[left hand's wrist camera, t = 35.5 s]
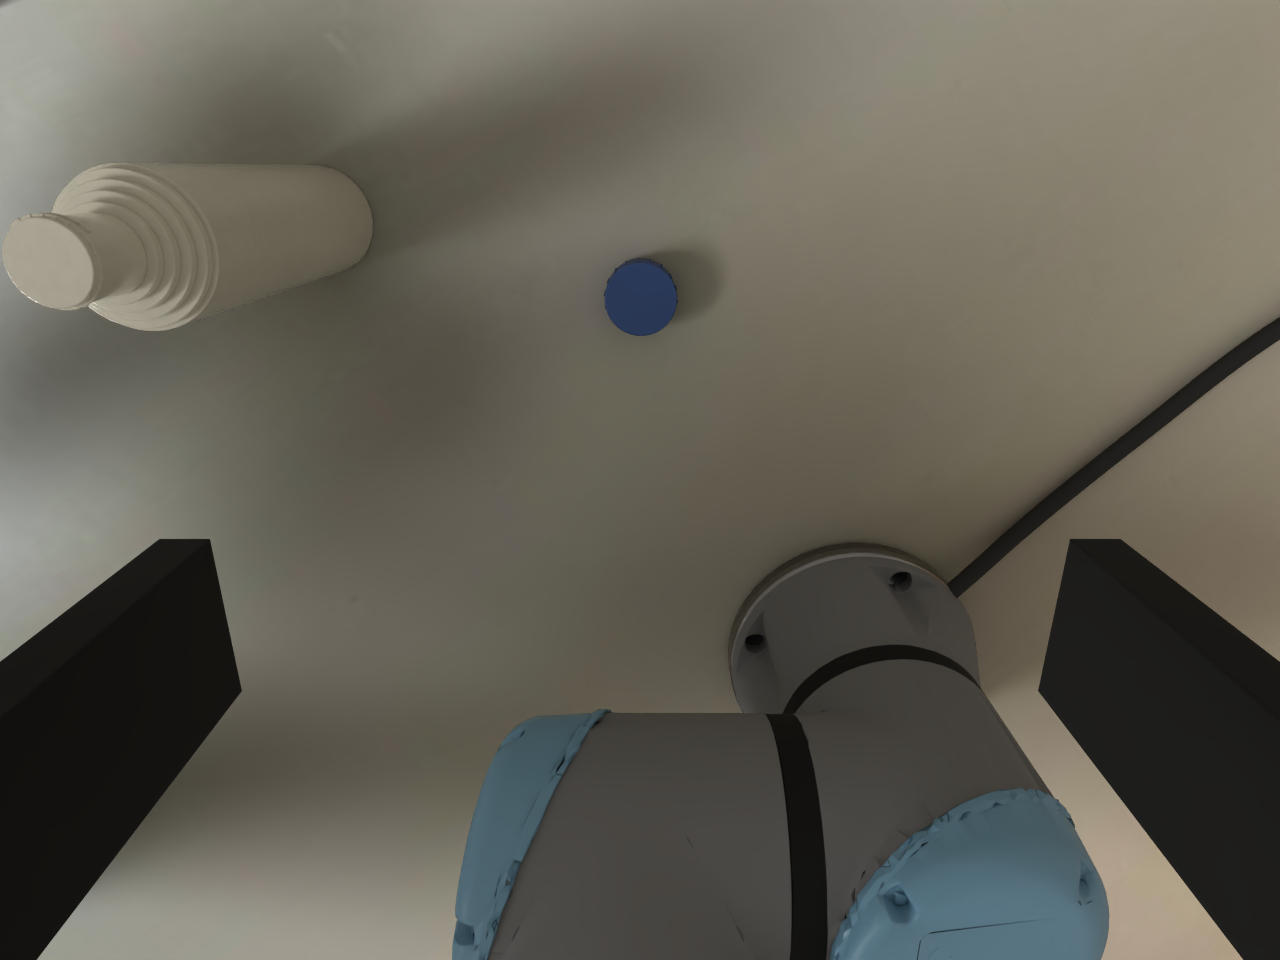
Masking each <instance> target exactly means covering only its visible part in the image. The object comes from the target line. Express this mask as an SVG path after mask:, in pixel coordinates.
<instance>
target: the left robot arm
mask: <svg viewBox="0 0 1280 960" xmlns="http://www.w3.org/2000/svg"><path fill="white" fill-rule="evenodd" d="M1278 340H1280V318H1278V319H1276V320H1275V321H1273V322H1272V323H1270V324H1269V325H1267V326H1266V327H1264V328H1263V329H1261V330H1260V331H1258V332H1257V333H1256V334H1254V335H1253V336H1251V337H1250V338H1248V339H1247V340H1245V341H1244V342H1243V343H1241V344H1240V345H1238V346H1237V347H1236V348H1234V349H1233V350H1232V351H1230V352H1229V353H1227V354H1226V355H1225V356H1223V357H1222V358H1221V359H1219V360H1218V361H1217V362H1215V363H1214V364H1213V365H1212V366H1210V367H1209V368H1208V369H1206V370H1205V371H1204V372H1203V373H1201V374H1200V375H1199V376H1197V377H1196V378H1195V379H1194V380H1192V381H1191V382H1190V383H1189V384H1187V385H1186V386H1185V387H1184V388H1182V389H1181V390H1180V391H1179V392H1177V393H1176V394H1175V395H1174V396H1172V397H1171V398H1170V399H1169V400H1167V401H1166V402H1165V403H1164V404H1163V405H1161V406H1160V407H1159V408H1158V409H1156V410H1155V411H1154V412H1153V413H1151V414H1150V415H1149V416H1148V417H1146V418H1145V419H1144V420H1143V421H1141V422H1140V423H1139V424H1137V425H1136V426H1135V427H1134V428H1132V429H1131V430H1130V431H1129V432H1127V433H1126V434H1125V435H1124V436H1122V437H1121V438H1120V439H1118V440H1117V441H1116V442H1115V443H1113V444H1112V445H1111V446H1110V447H1108V448H1107V449H1106V450H1105V451H1103V452H1102V453H1101V454H1100V455H1098V456H1097V457H1096V458H1095V459H1093V460H1092V461H1091V462H1090V463H1088V464H1087V465H1086V466H1085V467H1083V468H1082V469H1081V470H1080V471H1078V472H1077V473H1076V474H1075V475H1073V476H1072V477H1071V478H1070V479H1069V480H1067V481H1066V482H1065V483H1064V484H1062V485H1061V486H1060V487H1059V488H1058V489H1056V490H1055V491H1054V492H1053V493H1051V494H1050V495H1049V496H1048V497H1047V498H1045V499H1044V500H1043V501H1042V502H1041V503H1039V504H1038V505H1037V506H1036V507H1035V508H1034V509H1032V510H1031V511H1030V512H1029V513H1028V514H1026V515H1025V516H1024V517H1023V518H1022V519H1021V520H1019V521H1018V522H1017V523H1016V524H1015V525H1013V526H1012V527H1011V528H1010V529H1009V530H1008V531H1006V532H1005V533H1004V534H1003V535H1002V536H1001V537H1000V538H999V539H997V540H996V541H995V542H994V543H993V544H992V545H991V546H990V547H989V548H988V549H986V550H985V551H984V552H983V553H982V554H981V555H980V556H979V557H978V558H976V559H975V560H974V561H973V562H972V563H971V564H970V565H968V566H967V567H966V568H965V569H964V570H963V571H962V572H960V573H959V574H958V575H957V576H956V577H955V578H954V579H952V580H951V581H950V582H949V583H948V584H947V582H946V581H945V580H944V579H943V578H942V577H941V576H940V575H939V574H938V573H937V572H936V571H935V570H934V569H933V568H931V567H930V566H929V565H928V564H926V563H925V562H923V561H921V560H920V559H918V558H916V557H914V556H912V555H910V554H908V553H906V552H903V551H900V550H898V549H894V548H891V547H887V546H882V545H875V544H864V543H851V544H840V545H833V546H828V547H823V548H820V549H817V550H813V551H810V552H808V553H805V554H803V555H800V556H798V557H796V558H794V559H792V560H790V561H788V562H787V563H785V564H783V565H782V566H780V567H778V568H777V569H776V570H774V571H773V572H772V573H770V574H769V575H768V576H767V577H766V578H765V579H763V580H762V581H761V582H760V583H759V584H758V585H757V586H756V588H755V589H754V590H753V591H752V592H751V593H750V595H749V596H748V597H747V599H746V600H745V602H744V603H743V605H742V607H741V608H740V610H739V612H738V614H737V616H736V619H735V621H734V624H733V627H732V631H731V635H730V640H729V647H728V660H729V668H730V674H731V680H732V685H733V689H734V693H735V696H736V699H737V702H738V704H739V706H740V708H741V710H742V712H743V713H612V712H611V710H607V709H599V710H596V711H595V712H593V713H586V714H570V715H554V716H538V717H534V718H531V719H528V720H526V721H524V722H522V723H521V724H519V725H518V726H516V727H515V728H514V729H513V730H512V731H511V732H510V733H509V734H508V735H507V736H506V738H505V739H504V741H503V742H502V744H501V745H500V747H499V749H498V751H497V753H496V754H495V756H494V758H493V760H492V762H491V765H490V767H489V770H488V772H487V774H486V777H485V780H484V782H483V785H482V788H481V791H480V795H479V798H478V801H477V804H476V808H475V811H474V815H473V818H472V822H471V826H470V830H469V835H468V839H467V843H466V848H465V853H464V858H463V863H462V868H461V873H460V879H459V885H458V892H457V899H456V907H455V915H456V918H457V919H458V920H457V923H456V928H455V934H454V939H453V947H452V960H1101V958H1102V955H1103V952H1104V949H1105V945H1106V941H1107V937H1108V930H1109V907H1108V902H1107V896H1106V891H1105V888H1104V885H1103V882H1102V880H1101V878H1100V876H1099V874H1098V872H1097V870H1096V868H1095V866H1094V864H1093V862H1092V860H1091V858H1090V856H1089V855H1088V853H1087V851H1086V849H1085V847H1084V845H1083V843H1082V841H1081V840H1080V838H1079V836H1078V834H1077V832H1076V830H1075V824H1074V822H1073V821H1072V818H1071V816H1070V814H1069V813H1068V812H1067V810H1066V808H1065V807H1064V806H1063V805H1062V804H1061V803H1060V802H1059V800H1058V799H1055V798H1054V797H1053V795H1052V794H1051V792H1050V791H1049V789H1048V788H1047V786H1046V785H1045V783H1044V782H1043V780H1042V779H1041V777H1040V776H1039V774H1038V773H1037V772H1036V770H1035V769H1034V767H1033V766H1032V764H1031V763H1030V761H1029V760H1028V758H1027V757H1026V755H1025V754H1024V752H1023V751H1022V749H1021V748H1020V746H1019V745H1018V743H1017V742H1016V740H1015V739H1014V737H1013V736H1012V734H1011V733H1010V731H1009V730H1008V728H1007V727H1006V725H1005V724H1004V722H1003V721H1002V719H1001V718H1000V716H999V715H998V713H997V712H996V710H995V709H994V707H993V706H992V704H991V703H990V701H989V700H988V698H987V697H986V696H985V694H984V692H983V691H982V689H981V688H980V679H979V670H978V661H977V652H976V643H975V637H974V632H973V628H972V624H971V621H970V618H969V616H968V614H967V612H966V610H965V608H964V606H963V604H962V603H961V601H960V600H959V598H958V597H959V596H960V595H961V594H962V593H963V592H965V591H966V590H967V589H968V588H969V587H970V586H972V585H973V584H974V583H975V582H976V581H977V580H978V579H980V578H981V577H982V576H983V575H984V574H985V573H986V572H988V571H989V570H990V569H991V568H992V567H993V566H994V565H995V564H997V563H998V562H999V561H1000V560H1001V559H1002V558H1003V557H1004V556H1005V555H1006V554H1008V553H1009V552H1010V551H1011V550H1012V549H1013V548H1014V547H1015V546H1017V545H1018V544H1019V543H1020V542H1021V541H1022V540H1024V539H1025V538H1026V537H1027V536H1028V535H1029V534H1031V533H1032V532H1033V531H1034V530H1035V529H1037V528H1038V527H1039V526H1040V525H1041V524H1043V523H1044V522H1045V521H1046V520H1047V519H1049V518H1050V517H1051V516H1052V515H1053V514H1055V513H1056V512H1057V511H1058V510H1059V509H1061V508H1062V507H1063V506H1064V505H1065V504H1067V503H1068V502H1069V501H1070V500H1072V499H1073V498H1074V497H1075V496H1077V495H1078V494H1079V493H1080V492H1081V491H1083V490H1084V489H1085V488H1086V487H1088V486H1089V485H1090V484H1091V483H1093V482H1094V481H1095V480H1096V479H1098V478H1099V477H1100V476H1101V475H1103V474H1104V473H1105V472H1107V471H1108V470H1109V469H1110V468H1112V467H1113V466H1114V465H1115V464H1117V463H1118V462H1119V461H1121V460H1122V459H1123V458H1124V457H1126V456H1127V455H1128V454H1129V453H1131V452H1132V451H1133V450H1135V449H1136V448H1137V447H1138V446H1140V445H1141V444H1142V443H1144V442H1145V441H1146V440H1147V439H1149V438H1150V437H1151V436H1153V435H1154V434H1155V433H1156V432H1158V431H1159V430H1160V429H1161V428H1163V427H1164V426H1165V425H1167V424H1168V423H1169V422H1170V421H1172V420H1173V419H1174V418H1175V417H1177V416H1178V415H1179V414H1180V413H1182V412H1183V411H1184V410H1185V409H1187V408H1188V407H1189V406H1190V405H1192V404H1193V403H1194V402H1195V401H1197V400H1198V399H1199V398H1200V397H1202V396H1203V395H1204V394H1206V393H1207V392H1208V391H1209V390H1211V389H1212V388H1213V387H1214V386H1216V385H1217V384H1218V383H1220V382H1221V381H1222V380H1224V379H1225V378H1226V377H1227V376H1229V375H1230V374H1231V373H1233V372H1234V371H1235V370H1237V369H1238V368H1240V367H1241V366H1242V365H1244V364H1245V363H1246V362H1248V361H1249V360H1251V359H1252V358H1253V357H1255V356H1256V355H1258V354H1259V353H1261V352H1262V351H1263V350H1265V349H1266V348H1268V347H1269V346H1271V345H1272V344H1274V343H1275V342H1277V341H1278ZM241 691H242V690H241V685H240V680H239V675H238V671H237V666H236V661H235V656H234V652H233V647H232V642H231V637H230V633H229V628H228V623H227V618H226V614H225V609H224V604H223V599H222V595H221V590H220V585H219V580H218V576H217V571H216V566H215V561H214V557H213V552H212V547H211V542H210V539H159V540H158V541H156V542H155V543H154V544H153V545H151V546H150V547H149V548H147V549H146V550H145V551H144V552H142V553H141V554H140V555H138V556H137V557H136V558H134V559H133V560H132V561H131V562H129V563H128V564H127V565H125V566H124V567H123V568H121V569H120V570H119V571H118V572H116V573H115V574H114V575H112V576H111V577H110V578H108V579H107V580H106V581H105V582H103V583H102V584H101V585H99V586H98V587H97V588H95V589H94V590H93V591H92V592H90V593H89V594H88V595H86V596H85V597H84V598H82V599H81V600H80V601H79V602H77V603H76V604H75V605H73V606H72V607H71V608H70V609H68V610H67V611H66V612H64V613H63V614H62V615H60V616H59V617H58V618H57V619H55V620H54V621H53V622H51V623H50V624H49V625H47V626H46V627H45V628H44V629H42V630H41V631H40V632H38V633H37V634H36V635H34V636H33V637H32V638H31V639H29V640H28V641H27V642H25V643H24V644H23V645H21V646H20V647H19V648H18V649H16V650H15V651H14V652H12V653H11V654H10V655H8V656H7V657H6V658H5V659H3V660H2V661H1V662H0V960H37V958H38V957H39V956H40V955H41V953H42V952H43V951H44V949H45V948H46V947H47V945H48V944H49V943H50V941H51V940H52V939H53V938H54V936H55V935H56V934H57V932H58V931H59V930H60V928H61V927H62V926H63V924H64V923H65V922H66V920H67V919H68V918H69V917H70V915H71V914H72V913H73V911H74V910H75V909H76V907H77V906H78V905H79V903H80V902H81V901H82V900H83V898H84V897H85V896H86V894H87V893H88V892H89V890H90V889H91V888H92V886H93V885H94V884H95V882H96V881H97V880H98V879H99V877H100V876H101V875H102V873H103V872H104V871H105V869H106V868H107V867H108V865H109V864H110V863H111V862H112V860H113V859H114V858H115V856H116V855H117V854H118V852H119V851H120V850H121V848H122V847H123V846H124V844H125V843H126V842H127V841H128V839H129V838H130V837H131V835H132V834H133V833H134V831H135V830H136V829H137V827H138V826H139V825H140V824H141V822H142V821H143V820H144V818H145V817H146V816H147V814H148V813H149V812H150V810H151V809H152V808H153V806H154V805H155V804H156V803H157V801H158V800H159V799H160V797H161V796H162V795H163V793H164V792H165V791H166V789H167V788H168V787H169V786H170V784H171V783H172V782H173V780H174V779H175V778H176V776H177V775H178V774H179V772H180V771H181V770H182V768H183V767H184V766H185V765H186V763H187V762H188V761H189V759H190V758H191V757H192V755H193V754H194V753H195V751H196V750H197V749H198V748H199V746H200V745H201V744H202V742H203V741H204V740H205V738H206V737H207V736H208V734H209V733H210V732H211V731H212V729H213V728H214V727H215V725H216V724H217V723H218V721H219V720H220V719H221V717H222V716H223V715H224V713H225V712H226V711H227V710H228V708H229V707H230V706H231V704H232V703H233V702H234V700H235V699H236V698H237V696H238V695H239V694H240V693H241ZM1038 691H1039V693H1040V694H1041V695H1042V696H1043V698H1044V699H1045V700H1046V702H1047V703H1048V704H1049V706H1050V707H1051V708H1052V710H1053V711H1054V712H1055V713H1056V715H1057V716H1058V717H1059V719H1060V720H1061V721H1062V723H1063V724H1064V725H1065V727H1066V728H1067V729H1068V731H1069V732H1070V733H1071V734H1072V736H1073V737H1074V738H1075V740H1076V741H1077V742H1078V744H1079V745H1080V746H1081V748H1082V749H1083V750H1084V751H1085V753H1086V754H1087V755H1088V757H1089V758H1090V759H1091V761H1092V762H1093V763H1094V765H1095V766H1096V767H1097V769H1098V770H1099V771H1100V772H1101V774H1102V775H1103V776H1104V778H1105V779H1106V780H1107V782H1108V783H1109V784H1110V786H1111V787H1112V788H1113V789H1114V791H1115V792H1116V793H1117V795H1118V796H1119V797H1120V799H1121V800H1122V801H1123V803H1124V804H1125V805H1126V806H1127V808H1128V809H1129V810H1130V812H1131V813H1132V814H1133V816H1134V817H1135V818H1136V820H1137V821H1138V822H1139V824H1140V825H1141V826H1142V827H1143V829H1144V830H1145V831H1146V833H1147V834H1148V835H1149V837H1150V838H1151V839H1152V841H1153V842H1154V843H1155V844H1156V846H1157V847H1158V848H1159V850H1160V851H1161V852H1162V854H1163V855H1164V856H1165V858H1166V859H1167V860H1168V862H1169V863H1170V864H1171V865H1172V867H1173V868H1174V869H1175V871H1176V872H1177V873H1178V875H1179V876H1180V877H1181V879H1182V880H1183V881H1184V882H1185V884H1186V885H1187V886H1188V888H1189V889H1190V890H1191V892H1192V893H1193V894H1194V896H1195V897H1196V898H1197V900H1198V901H1199V902H1200V903H1201V905H1202V906H1203V907H1204V909H1205V910H1206V911H1207V913H1208V914H1209V915H1210V917H1211V918H1212V919H1213V920H1214V922H1215V923H1216V924H1217V926H1218V927H1219V928H1220V930H1221V931H1222V932H1223V934H1224V935H1225V936H1226V938H1227V939H1228V940H1229V941H1230V943H1231V944H1232V945H1233V947H1234V948H1235V949H1236V951H1237V952H1238V953H1239V955H1240V956H1241V957H1242V958H1243V960H1280V662H1279V661H1278V660H1277V659H1275V658H1274V657H1273V656H1272V655H1270V654H1269V653H1268V652H1266V651H1265V650H1264V649H1262V648H1261V647H1260V646H1259V645H1257V644H1256V643H1255V642H1253V641H1252V640H1251V639H1249V638H1248V637H1247V636H1246V635H1244V634H1243V633H1242V632H1240V631H1239V630H1238V629H1236V628H1235V627H1234V626H1233V625H1231V624H1230V623H1229V622H1227V621H1226V620H1225V619H1223V618H1222V617H1221V616H1220V615H1218V614H1217V613H1216V612H1214V611H1213V610H1212V609H1210V608H1209V607H1208V606H1207V605H1205V604H1204V603H1203V602H1201V601H1200V600H1199V599H1198V598H1196V597H1195V596H1194V595H1192V594H1191V593H1190V592H1188V591H1187V590H1186V589H1185V588H1183V587H1182V586H1181V585H1179V584H1178V583H1177V582H1175V581H1174V580H1173V579H1172V578H1170V577H1169V576H1168V575H1166V574H1165V573H1164V572H1162V571H1161V570H1160V569H1159V568H1157V567H1156V566H1155V565H1153V564H1152V563H1151V562H1149V561H1148V560H1147V559H1146V558H1144V557H1143V556H1142V555H1140V554H1139V553H1138V552H1136V551H1135V550H1134V549H1133V548H1131V547H1130V546H1129V545H1127V544H1126V543H1125V542H1124V541H1122V540H1121V539H1070V542H1069V547H1068V552H1067V557H1066V561H1065V566H1064V571H1063V576H1062V580H1061V585H1060V590H1059V595H1058V599H1057V604H1056V609H1055V614H1054V618H1053V623H1052V628H1051V633H1050V637H1049V642H1048V647H1047V652H1046V656H1045V661H1044V666H1043V671H1042V675H1041V680H1040V685H1039V690H1038Z"/></svg>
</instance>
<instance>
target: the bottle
mask: <svg viewBox="0 0 1280 960" xmlns="http://www.w3.org/2000/svg"><path fill="white" fill-rule="evenodd" d="M10 227H11V229H10V230H9V231H8V233H7V235H6V237H5V239H4V243H3V261H4V265H5V268H6V271H7V273H8V275H9V277H10V279H11V280H12V282H13V283H14V284H15V286H16V287H17V288H18V289H19V290H20V291H21V292H22V293H23V294H24V295H25V296H27V297H28V298H29V299H31V300H32V301H34V302H36V303H38V304H40V305H43V306H46V307H49V308H55V309H60V310H77V309H80V308H83V307H86V306H88V307H89V308H90V309H92V310H93V311H95V312H96V313H98V314H99V315H101V316H103V317H105V318H107V319H108V320H111V321H113V322H116V323H118V324H121V325H124V326H126V327H130V328H134V329H137V330H144V331H164V330H170V329H174V328H177V327H180V326H183V325H186V324H189V323H192V322H195V321H198V320H201V319H204V318H207V317H210V316H212V315H215V314H218V313H221V312H224V311H227V310H230V309H233V308H236V307H239V306H242V305H245V304H248V303H250V302H253V301H256V300H259V299H262V298H265V297H268V296H271V295H274V294H277V293H280V292H283V291H285V290H288V289H291V288H294V287H297V286H300V285H303V284H306V283H309V282H312V281H315V280H318V279H321V278H323V277H326V276H329V275H332V274H335V273H338V272H341V271H344V270H346V269H348V268H350V267H352V266H354V265H355V264H356V263H357V262H359V261H360V260H361V259H362V257H363V256H364V255H365V253H366V252H367V250H368V248H369V246H370V243H371V240H372V234H373V218H372V213H371V209H370V207H369V204H368V202H367V200H366V198H365V196H364V194H363V193H362V191H361V190H360V189H359V187H358V186H357V185H356V184H355V183H354V182H353V181H352V180H351V179H350V178H348V177H347V176H346V175H344V174H343V173H341V172H339V171H337V170H335V169H333V168H330V167H326V166H321V165H276V164H197V163H118V162H113V163H105V164H101V165H97V166H94V167H91V168H89V169H87V170H85V171H83V172H82V173H80V174H79V175H77V176H76V177H75V178H74V179H73V180H72V181H71V182H70V183H69V184H68V185H67V186H66V187H65V188H64V189H63V190H62V192H61V193H60V194H59V196H58V197H57V199H56V201H55V203H54V206H53V209H52V212H51V213H40V214H29V215H26V216H24V217H21V218H18V219H17V220H16V221H15V222H13V223H12V224H11V225H10Z"/></svg>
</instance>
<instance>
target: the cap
mask: <svg viewBox="0 0 1280 960" xmlns="http://www.w3.org/2000/svg"><path fill="white" fill-rule="evenodd" d="M607 283H608V284H607V288H606V290H605V293H604V296H605V309H606V310H607V313H608V315H609V317H610V319H611V320H612V322H613V323H614V324H615V325H616V326H617V327H618V328H619V329H621V330H622V331H624V332H626V333H628V334H632V335H637V336H645V335H650V334H653V333H656V332H658V331H659V330H661V329H662V328H664V327H665V326H666V325H667V324H668V323H669V321H670V320H671V318H672V317H673V315H674V312H675V309H676V304H677V294H676V290H677V289H676V285H674V282H673V280H672V276H671V274H669V273H668V272H667V270H666V269H665V268H664V267H663V265H662V264H661V265H660V264H658V263H656V262H654V261H652V260H651V259H650V260H648V259H639V258H637V259H633V260H630V261H625V263H623V264H622V265H620V266H619V267H618V268H615V271H614V272H613V274H612V275H611V277H610V278H608V281H607Z"/></svg>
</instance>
